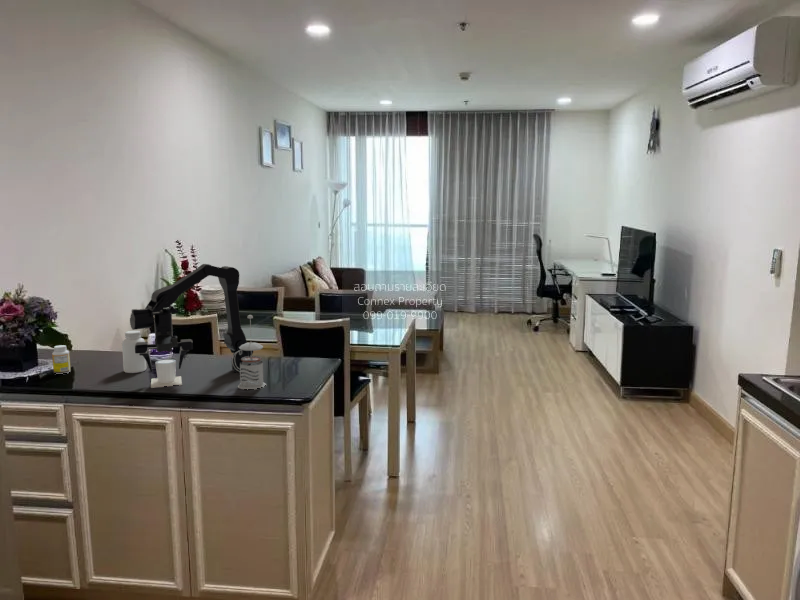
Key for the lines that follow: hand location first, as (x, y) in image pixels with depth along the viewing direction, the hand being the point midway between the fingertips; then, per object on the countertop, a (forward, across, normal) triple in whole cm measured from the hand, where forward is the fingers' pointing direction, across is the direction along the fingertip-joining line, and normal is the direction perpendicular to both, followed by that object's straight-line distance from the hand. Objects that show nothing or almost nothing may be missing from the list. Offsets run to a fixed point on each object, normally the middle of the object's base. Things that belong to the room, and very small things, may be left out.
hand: (165, 370), depth 212 cm
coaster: (+5, 0, 0) cm, 5 cm away
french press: (+5, +27, -13) cm, 30 cm away
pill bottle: (+5, -11, +21) cm, 24 cm away
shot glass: (+4, 0, 0) cm, 4 cm away
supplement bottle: (+5, -36, +26) cm, 45 cm away
